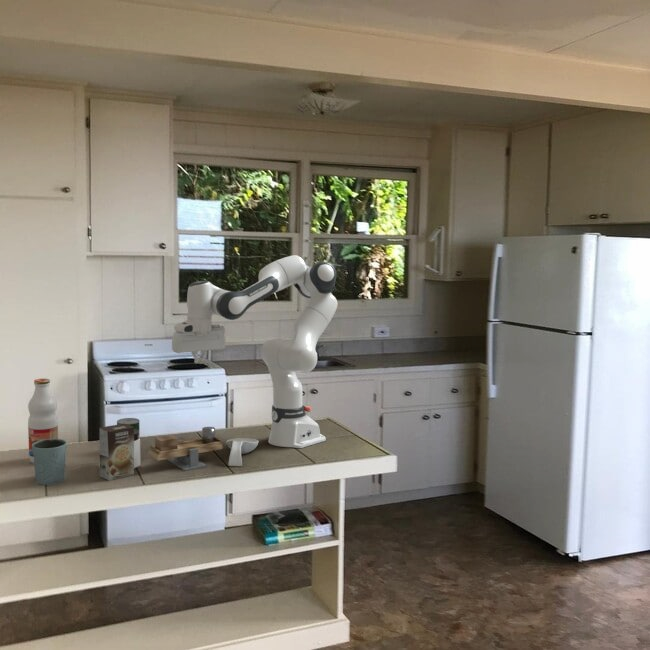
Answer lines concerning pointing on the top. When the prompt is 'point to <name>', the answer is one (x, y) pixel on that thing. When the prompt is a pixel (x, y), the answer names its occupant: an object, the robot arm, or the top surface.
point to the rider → (166, 443)
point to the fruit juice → (42, 415)
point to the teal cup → (49, 460)
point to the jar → (136, 448)
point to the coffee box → (116, 451)
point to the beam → (185, 449)
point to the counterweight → (208, 435)
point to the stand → (188, 460)
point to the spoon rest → (240, 449)
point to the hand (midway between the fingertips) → (199, 363)
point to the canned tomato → (130, 422)
